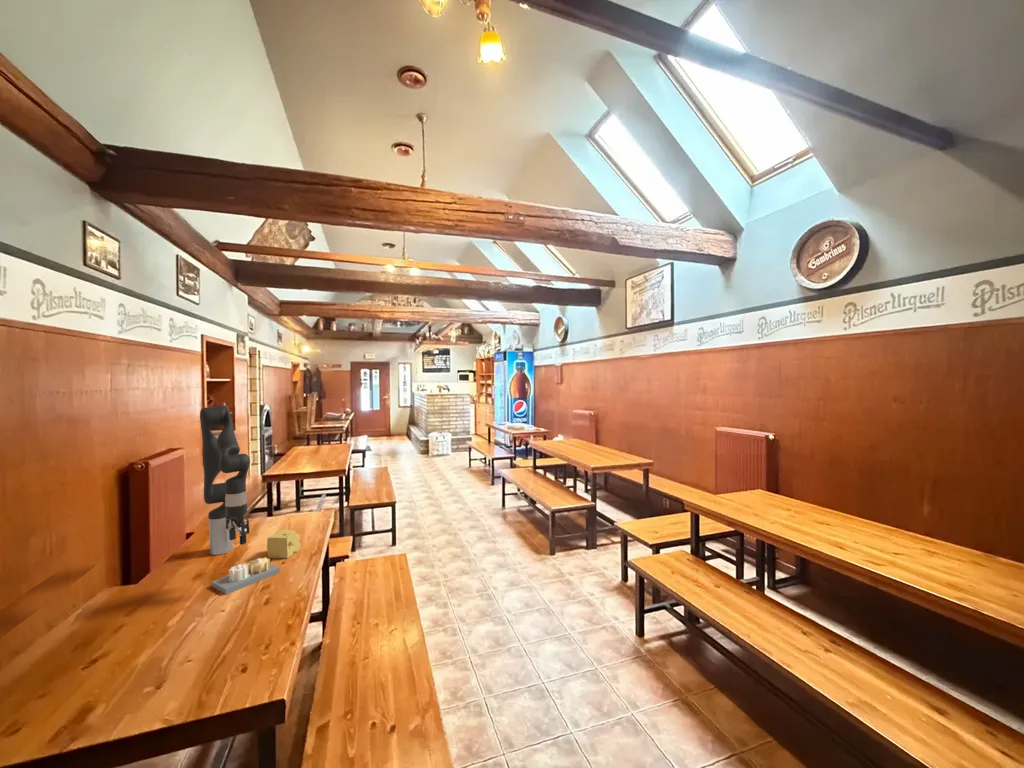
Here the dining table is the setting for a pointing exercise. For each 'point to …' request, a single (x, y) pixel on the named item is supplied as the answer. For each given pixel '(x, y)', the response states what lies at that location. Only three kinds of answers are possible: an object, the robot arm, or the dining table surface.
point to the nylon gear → (238, 572)
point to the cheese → (283, 544)
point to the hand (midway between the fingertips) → (237, 541)
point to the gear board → (256, 572)
